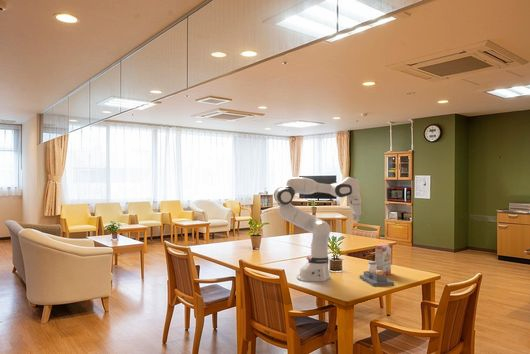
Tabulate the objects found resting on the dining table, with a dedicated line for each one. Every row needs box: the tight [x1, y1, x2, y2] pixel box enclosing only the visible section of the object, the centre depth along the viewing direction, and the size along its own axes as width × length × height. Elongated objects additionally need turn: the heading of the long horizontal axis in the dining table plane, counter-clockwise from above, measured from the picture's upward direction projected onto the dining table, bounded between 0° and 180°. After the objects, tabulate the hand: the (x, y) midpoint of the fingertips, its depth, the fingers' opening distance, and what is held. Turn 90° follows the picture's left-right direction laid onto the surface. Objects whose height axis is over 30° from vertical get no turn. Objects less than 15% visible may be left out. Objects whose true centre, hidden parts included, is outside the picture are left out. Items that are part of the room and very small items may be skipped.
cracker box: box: [374, 242, 392, 276], centre depth 270 cm, size 14×6×21 cm, turn 139°
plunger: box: [376, 270, 383, 276], centre depth 247 cm, size 4×4×4 cm
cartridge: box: [368, 260, 377, 274], centre depth 257 cm, size 5×5×10 cm
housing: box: [359, 270, 395, 287], centre depth 252 cm, size 14×20×6 cm
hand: (356, 220), depth 265 cm, fingers open, 8 cm apart
